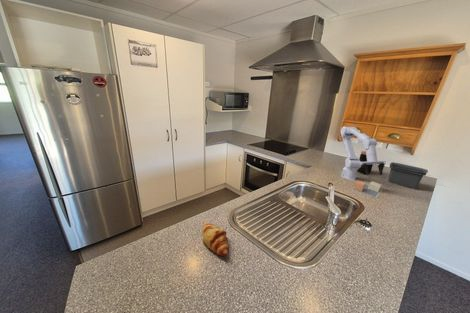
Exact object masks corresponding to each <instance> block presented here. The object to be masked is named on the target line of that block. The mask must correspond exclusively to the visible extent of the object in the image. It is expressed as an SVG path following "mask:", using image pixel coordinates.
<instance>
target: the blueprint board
mask: <svg viewBox="0 0 470 313" xmlns="http://www.w3.org/2000/svg"><path fill="white" fill-rule="evenodd" d="M381 186H382V183H378V182H376V181H370V183H369V184H367V183H366V184H365V187H364V190H363V191H362V192H361V191H358V190H355V189H354V186H353V187H352V188H351V191H355V192H357V193H360V194H363V195H366V196H369V197H371V198H373V199H377V198H378V197H379V196H380V194H381V193H382V191H383V190H384V188H382V187H381Z"/></svg>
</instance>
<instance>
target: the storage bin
mask: <svg viewBox="0 0 470 313" xmlns="http://www.w3.org/2000/svg"><path fill="white" fill-rule="evenodd" d="M388 168H390V171H389V175H388V182H389V183H391V184H392V183H393V184H396V185H400V186H403V187H406V188H411V189H415V190H417V189H418V187H419V185H420V183H421V181H422V180H423V177H426V176H427V173H429V170H428V169H426V168H422V167H417V166H414V165H413V166H412V165H409V164H404V163H399V162H394V161H393V162H392V161H391V162H390V164H389V167H388Z"/></svg>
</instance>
